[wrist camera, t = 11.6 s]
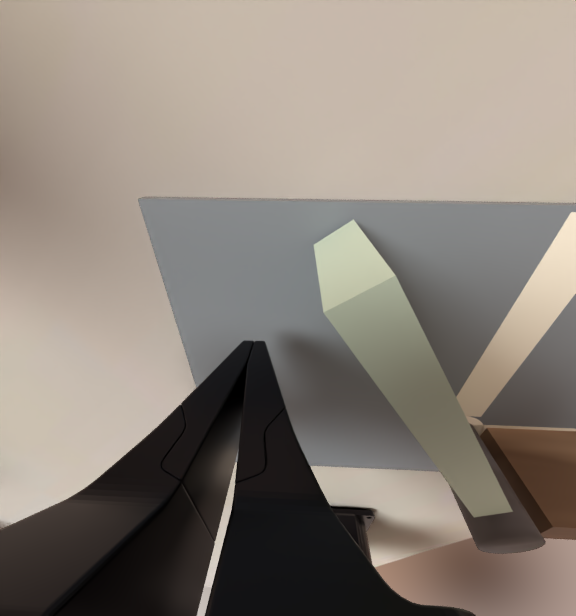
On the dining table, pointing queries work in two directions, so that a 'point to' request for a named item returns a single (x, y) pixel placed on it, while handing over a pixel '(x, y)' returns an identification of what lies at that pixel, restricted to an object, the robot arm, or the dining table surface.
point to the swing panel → (402, 362)
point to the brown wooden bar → (527, 489)
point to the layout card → (418, 289)
